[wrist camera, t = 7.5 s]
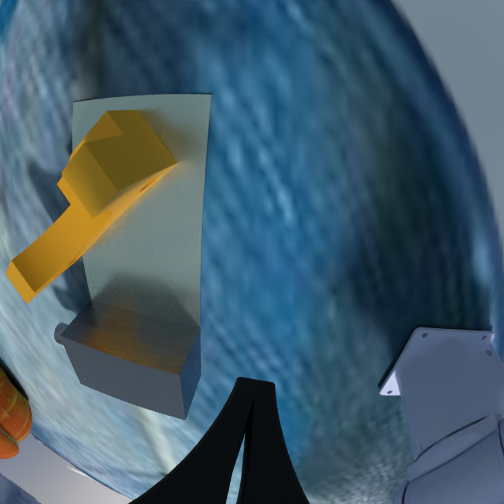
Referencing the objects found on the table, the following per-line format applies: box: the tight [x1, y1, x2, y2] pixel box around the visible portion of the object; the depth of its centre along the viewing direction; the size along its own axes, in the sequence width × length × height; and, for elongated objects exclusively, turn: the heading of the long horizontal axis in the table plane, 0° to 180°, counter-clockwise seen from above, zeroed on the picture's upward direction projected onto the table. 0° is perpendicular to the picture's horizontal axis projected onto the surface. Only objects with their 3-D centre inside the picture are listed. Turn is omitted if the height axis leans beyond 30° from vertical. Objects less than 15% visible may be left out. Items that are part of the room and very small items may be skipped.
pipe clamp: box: [6, 110, 177, 304], centre depth 15 cm, size 12×4×6 cm, turn 126°
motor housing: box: [54, 94, 212, 420], centre depth 17 cm, size 13×22×5 cm, turn 174°
